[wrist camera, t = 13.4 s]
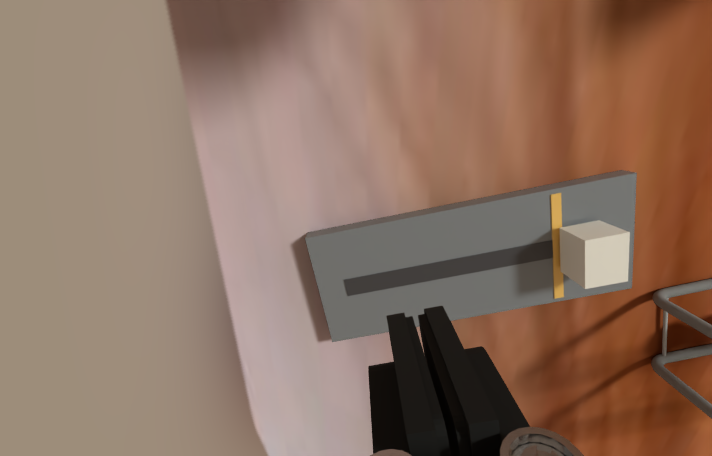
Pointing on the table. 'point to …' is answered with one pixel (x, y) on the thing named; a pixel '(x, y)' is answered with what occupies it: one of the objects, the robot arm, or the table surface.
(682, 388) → the newton's cradle
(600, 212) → the board
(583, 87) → the table surface
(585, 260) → the fader tab
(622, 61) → the table surface
